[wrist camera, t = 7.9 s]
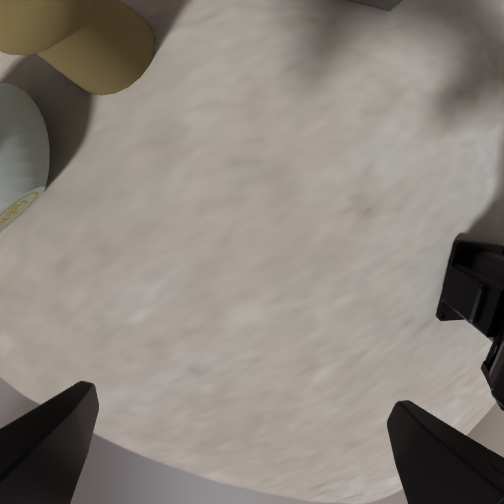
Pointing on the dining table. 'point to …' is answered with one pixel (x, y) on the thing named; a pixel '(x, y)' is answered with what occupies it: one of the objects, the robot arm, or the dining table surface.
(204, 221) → the dining table surface
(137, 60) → the cork
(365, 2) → the tube
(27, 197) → the air freshener
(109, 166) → the dining table surface
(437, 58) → the dining table surface
